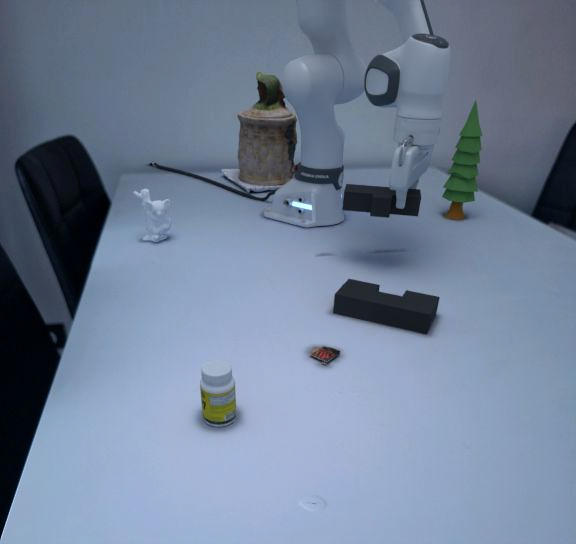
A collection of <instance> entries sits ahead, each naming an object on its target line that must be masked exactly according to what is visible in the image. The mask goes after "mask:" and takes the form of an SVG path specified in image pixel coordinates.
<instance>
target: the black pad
mask: <svg viewBox="0 0 576 544" xmlns="http://www.w3.org/2000/svg"><path fill="white" fill-rule="evenodd" d="M342 198H343V199H342V210H343V211H347V212H359V213H370V214H369V216H370V217H374V218H386V219H389V218H390V216H391V215H395V216H407V217H419V215H420V208H421V203H422V201H421V200H422V192H421V189H417V188H416V189H408V192H407V196H406V199H407V201H406V206H405V207H404V208H403V209H400V208H397V207H396V201H397V198H396V190H391V189H390V188H389V186H379V185H368V184H366V185H365V184H355V183H354V184H353V183H346V184H345V186H344V190H343V197H342Z"/></svg>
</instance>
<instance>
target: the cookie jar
mask: <svg viewBox="0 0 576 544" xmlns="http://www.w3.org/2000/svg"><path fill="white" fill-rule="evenodd" d="M255 75H256V77H255V79H256V81H257V82H256V83H257V87H256V90H257V92H258V97H259V99H258V100H257V101H256V102H255V103H254V104H253V105H252V106H250V107H249V108H248V109H246V110H240V111H239V112H237V114H236V115H237V120H238V122H239V126H240V127H239V132H238V146H237V147H238V149H237V161H238V168H222V169H221V172H222V174H223V175H222V176H223V178H225V177H226V178H227V179H228V180H230V181H231V182H233V183H234V184H236V185H238V186H239V187H240V188H242V189H243V190H244V191H245V192H246V193H248V194H250V191H253V192H258V193H260V192H265V191H275V189H278V188H280V187H282V186H283V185H284V184H285V183H287V182H288V181H289V180H291V179H292V178H293V177H294V172H292V170H293V169H292V168H293V167H294V166H295V165H296V164H295V160H294V158H295V155H296V154H295V153H296V149H297V144H298V133H297V129H296V128H297V121H298V117H297V115H296V113H294V112H292V111H291V110H290V109H289V108H288V107H287V106H286V102H285V100H284V99H286V98H285V96H284V93H283V90H282V82H281V81H280V78H279V77H278V76H276V75H274V74H266V73H264V72H262V71H261V70H258V71H256V74H255Z"/></svg>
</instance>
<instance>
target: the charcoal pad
mask: <svg viewBox="0 0 576 544" xmlns="http://www.w3.org/2000/svg"><path fill="white" fill-rule="evenodd" d="M380 287H381V285H380V284H378V283H372V282H367V281H362V280H358V279H353V278H352V279H351V278H348V279H347V280H346V281H345V282H344V283H343V284H342V285H341V286H340V288H339V289H338V290H337V291H336V292H335V293H334V295H333V296H334V297H333V310H332V313H333V314H336V315H340V316H345V317H349V318H354V319H357V320H362V321H367V322H371V323H375V324H379V325H384V326H388V327H393V328H397V329H401V330H407V331H409V332H415V333H419V334H424V335H427V334H428V333H429V330H430V328H431V327H432V325H433V323H434V322H435V321H434V320H435V318H436V316H437V313H438V309H439V304H440V298H441V297H440V296H439V295H438V296H437V295H432V294H428V293H422V292H418V291H412V290H407V289H405V291H404V293H403V294H402V295H399V294H393V293H388V292H384V291H380Z"/></svg>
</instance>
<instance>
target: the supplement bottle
mask: <svg viewBox="0 0 576 544" xmlns="http://www.w3.org/2000/svg"><path fill="white" fill-rule="evenodd" d="M200 371H201V372H200V373H201V378H200V380H199V390H200V391H199V392H200V399H201V401H200V402H201V410H202V411H201V412H202V419H203V420H204V422H205V423H206V424H207V425H209V426H212V427H215V428H218V427H219V428H220V427H221V428H222V427H226V426H229V425H231V424H232V423H233V422H235V420H236V418H237V413H238V412H237V395H236V394H237V393H236V380H235V377H234V376H233V367H232V365H231V363H230V362H229V361H226V360H223V359H211V360H207V361H206V362H204V363H203V364H202V366H201V369H200Z"/></svg>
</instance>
